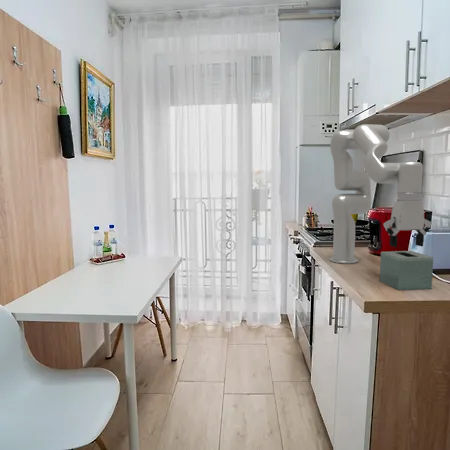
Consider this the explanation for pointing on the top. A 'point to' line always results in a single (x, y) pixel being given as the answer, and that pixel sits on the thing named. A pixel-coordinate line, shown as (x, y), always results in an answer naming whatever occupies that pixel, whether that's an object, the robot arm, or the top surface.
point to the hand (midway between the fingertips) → (406, 246)
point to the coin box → (406, 270)
